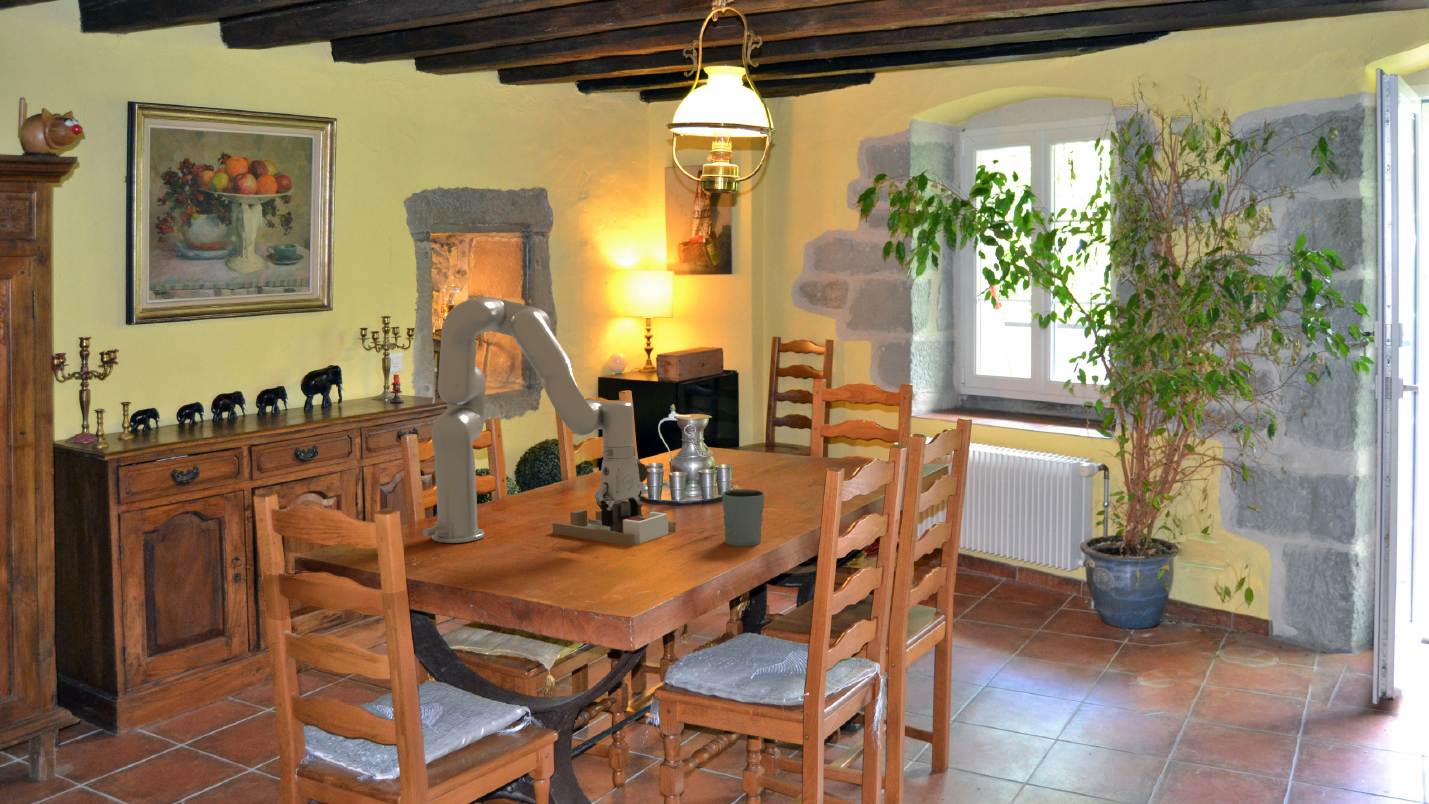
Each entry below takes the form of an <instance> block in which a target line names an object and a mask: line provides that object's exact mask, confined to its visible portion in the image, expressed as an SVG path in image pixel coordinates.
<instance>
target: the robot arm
mask: <svg viewBox="0 0 1429 804" xmlns="http://www.w3.org/2000/svg"><path fill="white" fill-rule="evenodd" d="M551 329H552V322H551V318H550V316H549V315H548V314H547V313H546V312H545V311H544V310H543V309H540V308H538V307H534V306H529V305H526V304H521V303H517V302H513V301H511V300H507V299H502V298H499V297H496V296H494V297H493V296H481V297H475V298H474V297H473V298H469V299H467V300H464V301H462V302H459V304H458V303H457V305H455V306H454V307H452V308H451V309H450V311H449V312H448V313H447V314H446V316H445V318H444V320H443V322H442V326H441V334H440V350H439V360H438V361H439V362H438V379H437V393H438V394H439V397H440V399H441V400H442V401H443V402H444V403H446V404H447V405H446V407H447V409H446V411H445V412H442V413H441V414H440V415H439V416H438V417H437V418H436V419H435V420H434V422H433V424H432V426H431V427H432V428H431V443H432V447H433V448H432V449H433V457H434V466H435V484H436V485H435V486H436V507H437V508H436V510H437V521H434V525H432V527H428V528H424V529H423V530H422V535H423V536H424V537H426V538H427V537H431V539H432V540H433V542H434V541H435V542H437V543H441V544H442V543H443V544H444V543H445V544H458V543H459V544H460V543H468V542H473V541H477V540H481V539H483V538H484V537H485V531H484V530H483V529H481V528H479V527H478V505H477V504H478V502H477V500H478V499H477V479H476V478H477V477H476V475H477V474H476V460H475V454H474V448H473V442H474V441H476V440H477V439H478V438H479V437H480V435H481V434H482V432H483V429H484V423H485V408H486V391H487V390H486V379H485V376H484V374H483V372H482V371H481V369H480V368H479V367H477V366H476V356H477V344H476V341H477V340H476V339H477V336H478V335H479V334H482V333H489V332H492V333H497V334H501V335H505V336H509V337H512V338H513V340H514V341H515V343H516V344H517V345H518V348H520V350H521V351H522V353H523V354H524V356H525V358H526V359H527V360H528V362H529V364H530V365H531V367H532V368H533V370H534V371H535V373H536V374H537V376H538V377H539V380H540V382H541V385H542V387H543V388H544V390H545V393H546V395H547V397H548V399H549V401H550V403H551V404H552V406H553V408H554V409H555V411H556V413H557V414H558V416H559V417H560V419H561V420H562V422H563V423H564V425H565V426H566V428H567V429H569V431H571V432H572V433H574V434H575V435H578V436H587V435H589V434H592V433H593V432H594V431H596V430H602V455H603V456H602V457H603V459H602V463H601V468H600V469H601V470H600V487H599V489H598V490H597V491H596V492H595V493H594V498H595V501H596V504H597V506H598V509H599V510H600V511H601V514H602V525H603V526H609V527H612V526H613V510H611V508H612V506H613V504H614V502H615V501H627V502H628V501H629V502H630V517H633V516H637V515H638V503H639V501H641V496H642V494H643V488H644V486H645V485H644V484H645V483H644V482H641V481H640V479H639V469H638V464H637V459H636V458H637V456H636V455H635V456H634V448H635V431H634V430H635V429H634V426H635V425H634V407H633V404H632V403H631V402H629V401H626V400H625V401H624V400H623V401H622V400H621V401H620V400H614V401H599V400H594V399H593V400H592V399H586V398H585V396H584V394H583V393H582V390H580V388H579V386H578V384H577V382H576V381H575V378H574V375H573V370H572V369H573V368H572V362H571V359H570V357H569V355H568V354H567V352H566V350H564V348H563V346H562V345H561V344H560V342H559V341H558V340H557V338H556V336H555V334H554V333H553V331H552V330H551ZM639 498H640V499H639Z"/></svg>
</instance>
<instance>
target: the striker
mask: <svg viewBox="0 0 1429 804" xmlns="http://www.w3.org/2000/svg"><path fill="white" fill-rule="evenodd" d="M611 510H613V526H612V527H610V531H614V532H620V533H623V520H625V519H627V520H633V521H641V516H639V515H637V516H633V517H630V502H628V500H622V501H614V504H613V506H612V508H611ZM587 523H588V524H594V525H600V526H603V525H602V521H600V520H596V519H592V518H589V519H587ZM607 527H609V526H607Z"/></svg>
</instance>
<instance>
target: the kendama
mask: <svg viewBox="0 0 1429 804" xmlns="http://www.w3.org/2000/svg"><path fill="white" fill-rule="evenodd" d="M634 456H635V457H636V449H635V447H634ZM636 459H637V464H638V469H639V479H640V481H641V482H642V483H644V482H645V481H646V479H647V478H648V474H649V471H648V467H647V465H646V464H644V463H643V462H641V460H640V459H639V458H638V457H636ZM639 499H640V501H639V503H638V515H639V516H641V517H644V516H643V513H642V507H643V502H642V501H641V497H640V498H639ZM627 502H629V501H628V500H627Z"/></svg>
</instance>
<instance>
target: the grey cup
mask: <svg viewBox="0 0 1429 804" xmlns="http://www.w3.org/2000/svg"><path fill="white" fill-rule="evenodd" d="M721 496H722V506H723V507H722V510H723V513H724V515H723V526H724V541H725V544H727V545H730V546H733V547H751V546H755V545H756V546H757V545H759V544H760V543H761V541H762V526H763V512H764V506H765V505H764V504H765V503H764V502H765V492H764V491H761V490H756V489H749V488H748V489H747V488H746V489H744V488H742V489H740V488H739V489H737V488H736V489H727V490H725V491H722V492H721Z"/></svg>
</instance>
